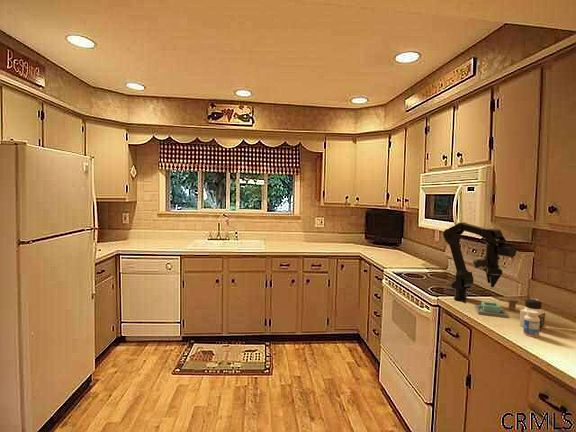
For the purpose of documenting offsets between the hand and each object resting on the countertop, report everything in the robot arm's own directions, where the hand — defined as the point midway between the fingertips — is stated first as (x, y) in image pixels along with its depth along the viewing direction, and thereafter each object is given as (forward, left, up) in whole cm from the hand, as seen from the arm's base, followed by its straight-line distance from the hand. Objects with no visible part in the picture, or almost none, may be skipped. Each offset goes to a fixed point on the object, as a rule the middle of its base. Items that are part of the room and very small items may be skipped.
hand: (490, 285), depth 187 cm
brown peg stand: (0, +10, -12) cm, 16 cm away
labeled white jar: (+22, +13, -12) cm, 28 cm away
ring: (+9, -1, -11) cm, 14 cm away
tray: (+9, -1, -12) cm, 15 cm away
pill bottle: (+33, +10, -12) cm, 37 cm away
